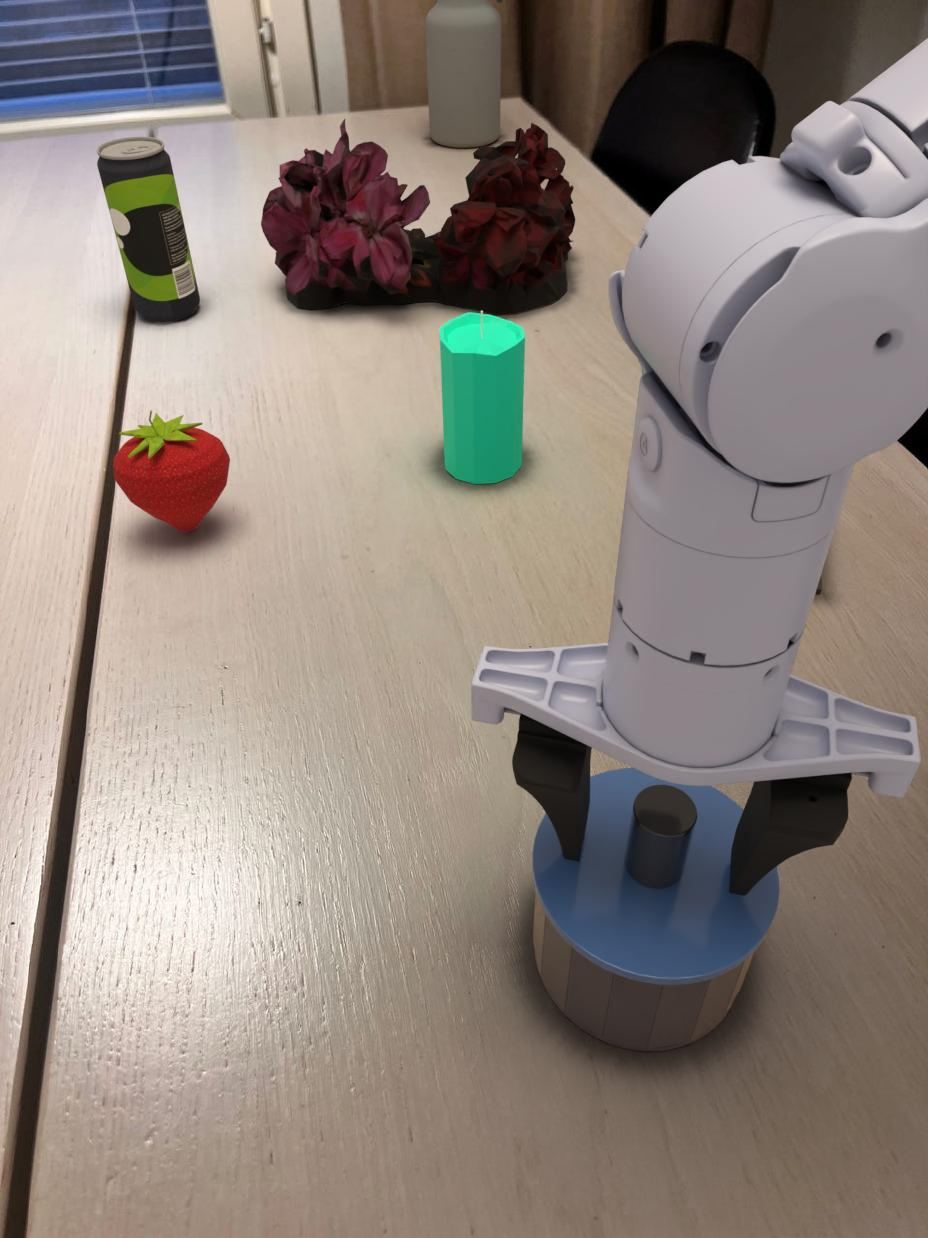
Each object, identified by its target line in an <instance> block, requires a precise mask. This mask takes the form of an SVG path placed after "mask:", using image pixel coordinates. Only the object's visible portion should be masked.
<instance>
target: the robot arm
mask: <svg viewBox="0 0 928 1238" xmlns="http://www.w3.org/2000/svg"><path fill="white" fill-rule="evenodd" d="M790 136H791V137H790V138H791V140H792V141H791V142H790V143H789V144H788V145H787V146H786V147H785V149H784V150H783V151H782V152H781V153H780V155H779V158H778V157H772V156H771V157H770V156H764V155H755V156H753V155H751V156H747V162H746V163H742V164H739V163H737V162H736V161H735V160H733V159H730V160H727V161H723V162H721V163H718V164H715V165H714V166H711V167H708V168H706V169H704V170H702V171H701V172H699V173H698V174H696V175H695V176H692V178H690V179H687V181H685V182H684V183H683V184H681V185H680V186H679V187H678V188H677V189H676V190H674V191H673V192H672V193H671V194H670V195H668V196H667V198H665V200H663V202H662V203H661V204H660V205H659V206H658V208H656V210H655V211H654V212H653V213H652V214H651V215H650V218H649V219H648V220H647V222H646V223H645V224H644V226H643V228H642V231H643V232H642V234H641V236H640V238H639V240H638V242H637V245H633V246H632V249H631V251H630V254H629V257H628V261H627V265H626V266H625V269H620V270H615V271H613V272H612V273H611V274H610V276H609V278H608V302H609V308H610V312H611V316H612V319H613V322H614V325H615V328H616V330H617V332H618V334H619V336H620V337H621V339H622V340H623V342H624V343H625V344H626V346H627V347H628V349H629V350H630V351H631V353H632V354H633V355H634V356H635V357H636V358H637V360H638V362H639V363H638V364H639V366H640V370H641V376H640V379H639V385H638V392H637V400H636V410H635V418H634V424H633V435H632V444H631V451H630V457H629V461H628V467H627V477H626V484H625V493H624V503H623V510H622V519H621V526H620V527H621V528H620V534H619V535H620V536H619V543H618V553H617V560H616V569H615V570H616V571H615V578H614V587H613V598H612V607H611V614H610V623H609V632H608V641H607V642H600V643H587V644H576V645H575V644H573V645H565V646H564V645H563V646H562V645H561V646H551V647H539V648H509V647H508V648H506V647H497V646H490V645H484V646H483V647H482V650H481V653H480V656H479V659H478V662H477V665H476V667H475V670H474V673H473V676H472V679H471V682H470V698H471V699H470V702H471V703H470V704H471V720H472V721H474V722H478V723H484V724H490V725H499V724H501V723H502V722H503V720H504V718H505V713H507V714H511V715H517V716H519V717H518V731H517V736H516V737H517V738H516V743H515V747H514V750H513V754H512V758H511V762H512V763H511V766H512V772H513V776H514V780H515V783H516V785H517V786H519V787H520V788H522V789H523V790H524V791H526V792H527V793H528V794H529V795H530V796H531V797H533V798H534V799H535V801H536V802H537V803H538V804H539V805H540V807H541V808H542V809H543V810H544V812H545V814H547V815H548V817H549V819H550V821H551V823H552V825H553V827H554V829H555V832H556V834H557V837H558V840H559V843H560V846H561V850H562V855H563V857H564V859H568V860H573V861H578V862H580V856H581V851H582V846H583V841H584V835H585V830H586V825H587V819H588V812H589V805H590V777H591V757H592V749H594V750H596V751H598V752H600V753H602V754H604V755H606V756H609V757H610V758H613V759H614V760H617V761H618V762H620V763H623V764H625V765H627V766H629V767H630V768H635V769H637V770H639V771H641V772H643V773H645V774H648V775H650V776H652V777H655V778H657V779H660V780H664V781H667V782H670V783H676V784H681V785H689V786H712V787H714V786H721V785H722V786H723V785H733V784H743V783H753V784H752V787H751V789H750V794H749V795H748V798H747V800H746V803H745V805H744V808H743V813H742V815H741V818H740V820H739V823H738V826H737V828H736V832H735V836H734V840H733V844H732V849H731V865H730V882H729V893H733V894H738V895H743V896H745V895H747V894H748V893H749V892H750V891H751V889H752V888H753V887H754V886H755V885H756V884H757V883H758V882H759V881H760V880H761V879H762V878H763V877H764V876H766V875H767V874H768V873H769V872H770V871H771V870H773V869H774V868H775V867H777V868H778V866H780V865H781V864H782V863H784V862H785V861H788V860H789V859H790V858H792V857H794V856H796V855H799V854H801V853H804V852H806V851H809V850H813V849H817V848H821V847H827V846H833V845H834V844H835V843H836V841H837V840H838V839H839V838H840V836H841V835H842V833H843V831H844V829H845V827H846V825H847V822H848V820H849V799H848V797H849V795H848V790H849V788H850V785H851V782H852V780H853V775H855V776H861V777H866V778H867V786H868V788H869V790H870V791H871V792H873V793H875V794H877V795H883V796H888V797H893V798H899V799H903V798H905V796H906V795H907V791H908V790H909V788H910V785H911V783H912V781H913V780H914V778H915V776H916V773H917V771H918V769H919V767H920V765H921V763H922V757H921V749H920V741H919V740H920V739H919V732H918V725H917V718H916V717H915V716H914V715H909V714H904V713H899V712H895V711H890V710H886V709H884V708H879V707H875V706H872V705H869V704H866V703H863V702H861V701H858V700H855V699H853V698H850V697H848V696H846V695H844V694H840V693H838V692H835V691H833V690H831V689H828V688H826V687H824V686H821V685H818V684H816V683H814V682H811V681H808V680H806V679H804V678H801V677H799V676H798V675H797V676H796V675H794V674H792V671H793V669H794V664H795V661H796V658H797V655H798V652H799V648H800V646H801V642H802V638H803V635H804V632H805V628H806V625H807V621H808V618H809V616H810V612H811V609H812V606H813V602H814V600H815V595H816V594H817V593H816V590H817V586H818V583H819V580H820V577H821V578H822V573H823V570H824V566H825V564H826V560H827V557H828V554H829V550H830V547H831V544H832V541H833V538H834V534H835V531H836V527H837V524H838V521H839V518H840V515H841V511H842V508H843V504H844V501H845V498H846V495H847V492H848V489H849V485H850V482H851V479H852V476H853V473H854V469H855V467H856V464H857V463H858V462H861V460H863V459H865V458H867V457H868V456H871V455H872V454H875V453H877V452H880V451H883V450H886V449H887V448H890V447H891V446H892V445H894V444H895V443H896V442H897V441H898V440H899V439H900V438H902V437H903V436H904V435H905V434H906V433H907V432H908V431H909V430H910V429H911V428H912V427H913V426H914V424H916V422H917V421H918V420H919V419H920V418H921V417H922V415H923V414H924V413H925V412H926V411H927V409H928V37H927V38H926V39H925V40H924V41H922V42H920V43H919V44H918V45H917V46H915V47H914V48H913V49H912V50H910V51H909V52H907V53H906V54H904V56H903V57H901V58H900V59H898V60H897V61H896V62H895V63H893V64H892V65H891V66H889V67H888V68H887V69H886V70H884V71H883V72H882V73H880V74H879V75H878V76H876V77H875V78H874V79H872V80H871V81H870V82H869V83H867V84H866V85H864V86H863V87H862V88H861V89H859V90H858V91H857V92H855V93H854V94H853V95H851V96H850V97H849V98H847V100H845V101H844V102H843V103H841V104H838V103H836V102H834V101H832V100H828V101H825V102H824V103H823V104H821V106H819V107H818V108H817V109H814V111H813V112H811V113H810V114H808V116H806V117H805V118H804V119H802V120H801V121H800V122H799V123H797V124H796V125H794V127H793V128H792V131H791V135H790Z"/></svg>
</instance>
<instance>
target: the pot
mask: <svg viewBox="0 0 928 1238" xmlns="http://www.w3.org/2000/svg"><path fill="white" fill-rule="evenodd" d="M534 896H535V897H534V910H533V911H534V913H533V929H532V944H533V950H534V958H535V964H536V967H537V971H538V974H539V976H540V979H541V982H542V984H543V986H544V989H545V990H546V992H547V993H548V996H549V998H551V1000H552V1001H553V1002H554V1004H555V1005H556V1007H557V1008H558V1009H559V1011H561V1013H563V1015H564V1016H565V1017H566V1018H568V1019H569V1021H570V1022H572V1023H573V1024H574V1025H576V1026H577V1027H578V1028H580V1029H581V1030H582V1031H584V1032H585V1033H587V1034H589V1035H590V1036H592V1037H594V1038H595V1039H598V1040H600V1041H602V1042H604V1043H606V1044H609V1045H611V1046H615V1047H618V1048H620V1049H621V1048H622V1049H624V1050H625V1049H627V1050H631V1051H637V1052H662V1051H669V1050H673V1049H678V1048H682V1047H684V1046H687V1045H690V1044H691V1043H695V1042H696V1041H697V1040H699V1039H702V1038H703V1037H704V1036H706V1035H707V1034H708V1033H710V1032H712V1030H714V1029H715V1028H716V1027H717V1026H718V1025H719V1024H720V1023H721V1022H722V1021H723V1020H724V1019H725V1017H726V1016H727V1014H728V1012H729V1011H730V1009H731V1008H732V1005H733V1003H734V1001H735V999H736V997H737V995H738V994H739V992H740V990H741V988H742V986H743V984H744V982H745V981H744V980H745V978H746V975H747V973H748V970H749V968H750V965H751V963H752V960H753V957H754V954H755V952H756V950H755V951H754V952H753V954H752V955H751V956H750V957H749V958H747V959H746V960H745V961H744V962H742V963H741V964H740V965H738V966H737V967H735V968H734V969H732V970H730V971H728V972H726V973H724V974H723V975H720V976H717V977H714V978H712V979H709V980H706V981H701V982H696V983H692V984H682V985H658V984H651V983H645V982H639V981H635V980H632V979H628V978H625V977H621V976H619V975H617V974H614V973H612V972H610V971H607V970H605V969H603V968H601V967H600V966H598V965H596V964H594V963H593V962H591V961H589V960H588V959H587V958H585V957H584V956H583V955H581V954H580V953H578V952H577V951H576V950H575V949H574V948H573V947H572V946H570V945H569V944H568V943H567V942H566V941H565V940H564V939H563V938H562V936H561V935H560V934H559V933H558V932H557V930H556V929H555V928H554V927H553V925H552V924H551V922H550V921H549V919H548V918H547V916H546V914H545V913H544V910H543V908H542V906H541V904H540V902H539V900H538V896H537V893H536V892H535V895H534Z"/></svg>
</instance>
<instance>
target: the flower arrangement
mask: <svg viewBox="0 0 928 1238" xmlns="http://www.w3.org/2000/svg"><path fill="white" fill-rule="evenodd" d="M339 130H340V135H341V136H340V137H339V138H338V140H337V142H336V143H335V146H334V148H333V151H332V153H331V151H329V150H328V149H324V150H325V151H324V152H323V153H321V152H319V151H317V150H316V149H308V148H307V147H306V148H304V149H303V153H304V155H303V156H302V157H301V158H300V159H299V160H296V159H295V160H294V159H293V160H289V161H286V162H283V163H281V164H279V177H278V180H279V183H280V185H281V186H280V185H279V186H277V187H275V188H273V189H271V190H270V191H269V192H268V195H267V197H266V198H265V202H264V204H263V207H262V214H261V220H260V227H261V230H262V233H263V235H264V237H265V239H266V241H267V243H268V245H269V246H270V247H271V248H272V249H273V250H274V251H275V259H274V265H275V266H276V267H277V268H278V269H279V270H280V272H282V274H283V275H284V276H285V278H284V286H285V287H284V288H285V292H286V298H287V299H288V300H289V302H291V303H292V304H293V305H294V306H295V307H296V308H298V309H305V310H324V309H325V310H326V309H327V310H328V309H331V308H334V307H336V306H340V305H343V304H349V305H357V306H359V305H360V306H373V305H374V306H375V305H389V304H393V305H395V304H396V305H404V304H405V305H406V304H412V303H413V304H414V303H427V302H428V303H429V302H437V303H440V304H445V305H449V306H454V307H459V308H466V309H470V310H474V311H479V312H481V311H483V313H485V314H489V315H493V316H497V315H498V316H499V315H502V316H503V315H517V314H520V313H523V312H524V313H525V312H528V311H531V310H535V309H539V308H542V307H547V306H550V305H552V304H553V303H555V302H557V301H559V300H561V299H562V297H564V295H565V294H566V292H567V291H568V276H567V269H566V264H565V262H566V261H567V260H568V259H569V252H570V251H571V250H572V249H573V247H572V245H571V243H572V242H574V240H571V239H570V236H571V235H572V233H574V229H575V226H576V225H575V224H576V215H575V213H574V209H573V204H574V201H573V199H572V194H573V192H574V189H575V187H574V186H573V184H572V185H570V182H569V181H568V180H567V179H566V178H565V177H564V175H562V174H563V172H564V169H565V166H566V164H567V163H566V159H565V158H564V156H563V155H562V154H561V153H560V151H559V150H558V149H556V148H554V147H549V134H548V132H546V130H544V129H543V128H542V127H540V126H539V125H537V124H536V123H533V122H531V123H530V127H529V128H526V130H525V132H524V129H523V128H522V127H519V128H517V129H515V140H506V141H504V142H502V143H500V144H499V145H496V146H489V145H484V146H480V147H477V149H476V150H474V151H473V153H472V155H473V159H474V160H478V162H477V163H476V165H475V166H474V167H473V168H472V170H470V172H469V173H468V174H467V175H466V176H465V177H464V178H465V179H464V180H465V183H466V189H467V193H468V198H467V199H466V200H463V201H460V202H457V203H454V204H453V205H452V206H451V207H450V208H449V211H450V216H448V217H447V218H446V219H445V221H444V224H442V227H441V228H440V231H437V232H435V233H434V234H431V235H427V236H426V233H425V232H424V230H423V229H422V228H421V227H418V228H412V229H406V228H405V227H407V226H409V225H411V224H412V223H414V222H417V221H419V220H420V219H421V217H422V216H423V214H424V213H425V211H426V210H427V209H428V208H429V206H430V205H431V199H430V193H429V191H428V188H427V187H426V185H425V184H420V185H419V186H417V188H415V189H414V190H413V191H412V192H411V193H410V194H409V195H408V196H407V197H405V198H403V199H402V196H403V195H404V193H405V192H406V189H407V187H409V186H408V183H401V184H399V181H398V178H397V177H394V176H391V174H390V173H389V171H386V169H387V164H388V158H389V155H388V153H387V151H386V149H385V148H383V147H382V146H381V145H379V144H378V143H376V142H374V141H363V142H361V143H358V144H356V145H355V146H354V147H353V148H352V149H350V137H349V135H348V131H347V127H346V118H344V119H343V120H342V122H341V123H340V125H339ZM385 171H386V172H385ZM545 180H547V183H546V185H545V187H544V188H543V187H542V184H543V183H544V182H545Z"/></svg>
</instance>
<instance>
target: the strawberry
mask: <svg viewBox="0 0 928 1238" xmlns="http://www.w3.org/2000/svg"><path fill="white" fill-rule="evenodd" d="M152 413H153V410H150V411H149V416H148V422H149V424H150V425H146V424H138V425H137V428H135V429H131V430H130V429H129V430H124V431H120V432H118V435H119V436H125V437H131V438H130V439H128V440H127V441H126V442H124V443H123V444H122V446H121V447H120V449H119V450H117V452H116V453H115V455H114V457H113V460H112V464H113V465H112V466H113V477H114V481H115V482H116V484H117V485H118V487H119V488H120V489H121V491H122V492H123V494H124V495H125V496H126V498H127V500H128V501H129V502H130V503H132V504H133V505H135V506H136V507H137V508H138V509H140V510H142V511H143V512H145V513H146V514H148V515H150V516H151V517H153V519H157V520H158V521H160V522H163V523H164V524H165V523H166V524H168V525H169V526H171V527H173V528H174V529H175V530H177V531H180V532H184V533H185V532H186V533H187V532H192V531H194V530H196V529H198V527H199V526H200V525H201V522H202V521H203V519H204V518H205V517H206V516H207V515H208V513H210V511H211V510H212V509H213V508H214V506H215V504H216V503H217V501H218V500H219V498H220V497H221V495H222V493H223V492H224V490H225V488H226V487H227V484H228V478H229V471H230V464H231V463H230V462H231V458H230V455H229V452H228V451H227V449H226V447H225V445H224V443H223V442H222V440H221V439H220V438H219V437H217V436H216V435H214V434H212V433H210V432H208V431H206V430H204V429H203V428H199V427H200V426H202V425H203V422H190V423H189V422H188V423H181V422H182V419H183V417H184V414H182V415H180V416H177V417H174V418H172V419H170V420H167V421H165V420H163V418H161V416H159V414H158V413H157V412H155V414H154V416H153V420H152V415H153V414H152Z"/></svg>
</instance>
